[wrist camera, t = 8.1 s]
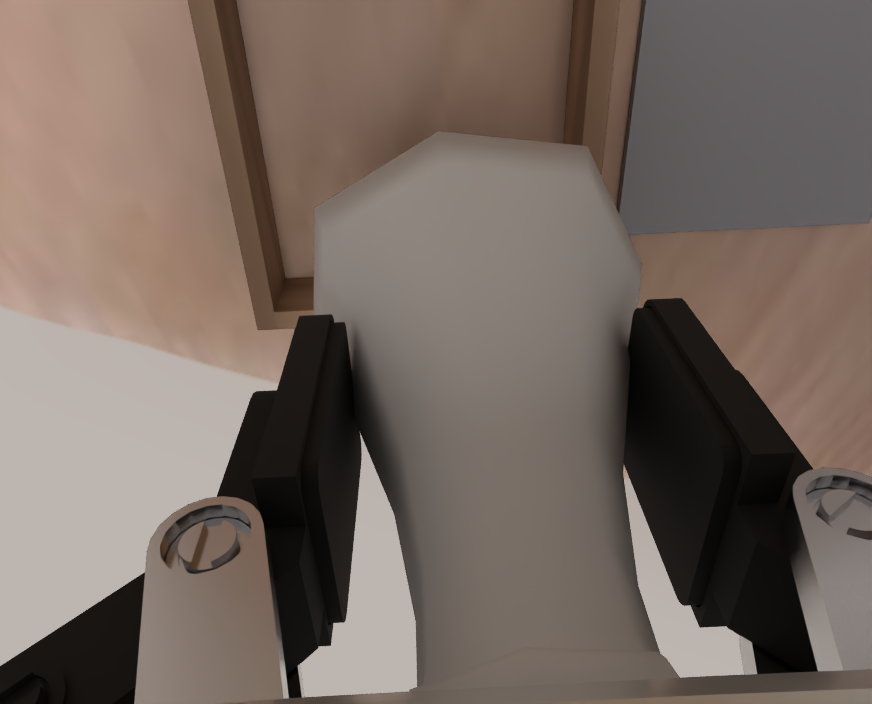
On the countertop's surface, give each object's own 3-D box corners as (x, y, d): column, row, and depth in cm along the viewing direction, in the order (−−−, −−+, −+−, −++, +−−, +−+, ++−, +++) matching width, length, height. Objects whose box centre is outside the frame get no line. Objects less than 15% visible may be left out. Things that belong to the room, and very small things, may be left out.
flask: (628, 82, 12) (1123, 428, 4) (644, 389, 16) (905, 900, 8) (256, 169, 13) (-45, 630, 4) (359, 443, 17) (305, 968, 8)
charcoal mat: (966, -83, 22) (975, -83, 22) (863, 219, 28) (869, 223, 28) (651, -70, 22) (654, -70, 22) (613, 231, 28) (616, 235, 28)
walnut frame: (602, -79, 22) (628, -80, 20) (570, 281, 29) (586, 313, 27) (200, -63, 22) (174, -62, 19) (270, 295, 29) (257, 330, 27)
